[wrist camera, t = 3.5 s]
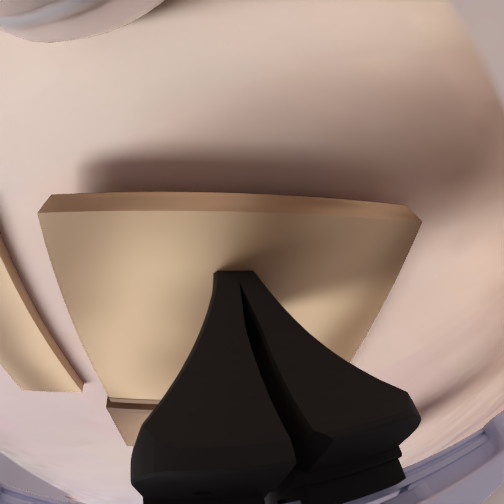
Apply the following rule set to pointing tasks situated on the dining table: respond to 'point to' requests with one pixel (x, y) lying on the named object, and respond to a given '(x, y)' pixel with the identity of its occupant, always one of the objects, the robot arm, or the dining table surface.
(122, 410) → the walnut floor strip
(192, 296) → the oak plank
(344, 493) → the robot arm
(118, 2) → the plastic bottle
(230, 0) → the dining table surface
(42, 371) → the plank
